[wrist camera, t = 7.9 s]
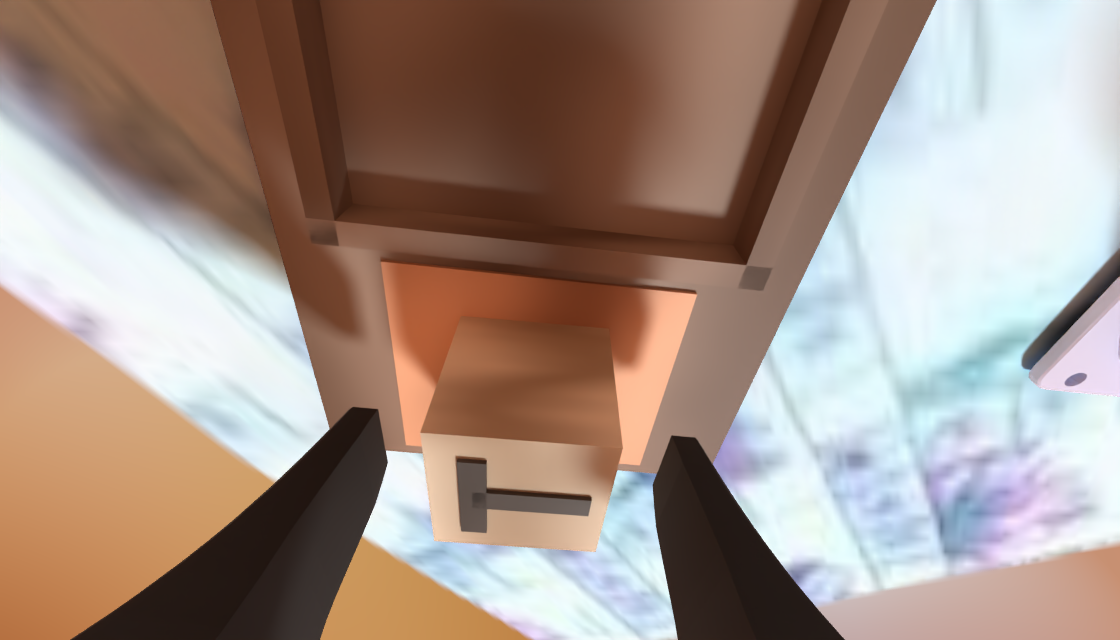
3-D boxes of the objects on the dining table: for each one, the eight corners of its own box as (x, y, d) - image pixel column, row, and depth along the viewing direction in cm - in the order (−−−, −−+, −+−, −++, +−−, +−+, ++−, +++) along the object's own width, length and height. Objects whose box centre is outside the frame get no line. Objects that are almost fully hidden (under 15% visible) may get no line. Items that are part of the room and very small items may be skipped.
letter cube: (609, 328, 12) (623, 452, 9) (590, 428, 15) (595, 555, 11) (461, 315, 12) (418, 436, 9) (465, 418, 14) (433, 545, 11)
